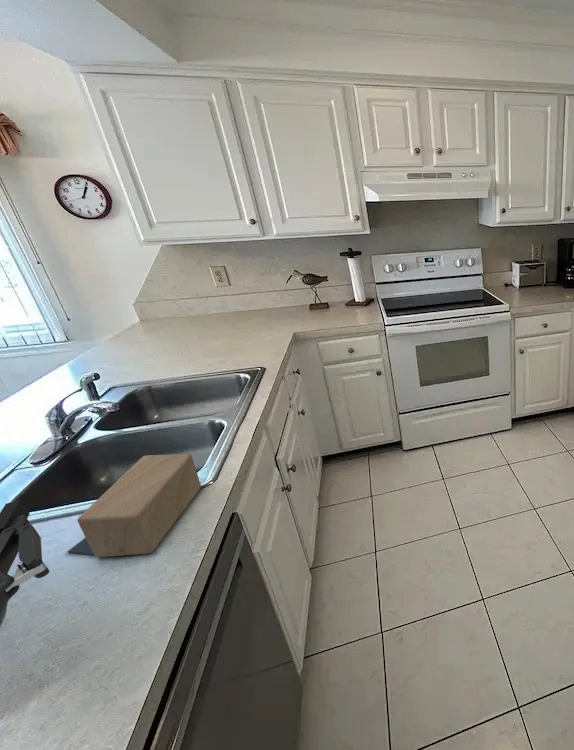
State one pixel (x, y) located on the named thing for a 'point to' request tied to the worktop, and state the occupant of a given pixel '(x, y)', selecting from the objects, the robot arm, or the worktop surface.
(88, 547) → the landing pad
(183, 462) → the wooden block
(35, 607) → the worktop surface
